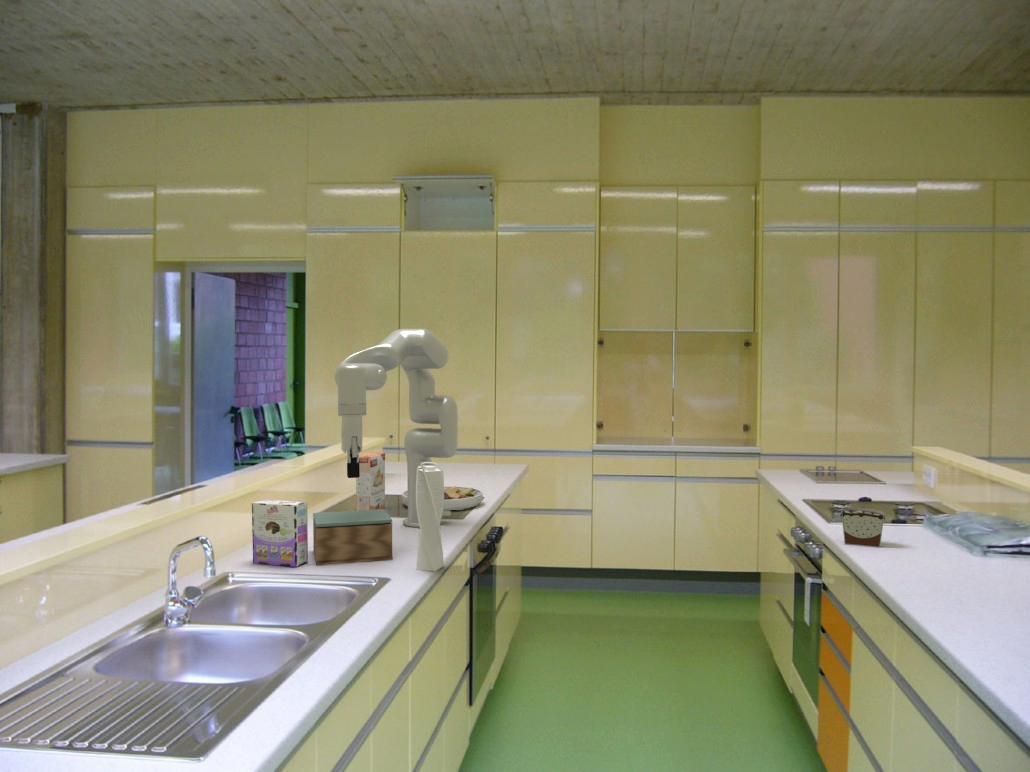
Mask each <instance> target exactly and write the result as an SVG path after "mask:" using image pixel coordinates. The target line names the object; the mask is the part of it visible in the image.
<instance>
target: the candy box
mask: <svg viewBox="0 0 1030 772" xmlns="http://www.w3.org/2000/svg"><path fill="white" fill-rule="evenodd" d="M251 522H252V523H251V524H252V526H251V529H252V531H251V533H252V536H251V537H252V563H253V564H255V563H256V565H257V564H258V565H268V566H278V567H279V566H280V567H291V568H295V567H296V568H297V567H299V566H301V565H304V564H307V563H308V562H309V547H308V546H309V545H308V543H309V542H308V539H309V535H308V529H309V528H308V527H309V526H308V502H307V501H296V500H281V499H280V500H279V499H262V500H258V501H253V502H251Z"/></svg>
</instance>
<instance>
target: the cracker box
mask: <svg viewBox="0 0 1030 772" xmlns="http://www.w3.org/2000/svg"><path fill="white" fill-rule="evenodd" d="M359 468H360V477H359V478H355V511H358V510H376V509H385V510H386V508H385V507H386V503H385V502H386V499H385V497H386V452H381V451H380V452H378V451H377V452H374V451H371V452H368V453H365V454H361V455H360V454H359Z"/></svg>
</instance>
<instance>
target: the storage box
mask: <svg viewBox="0 0 1030 772" xmlns="http://www.w3.org/2000/svg"><path fill="white" fill-rule="evenodd" d="M312 520H313V521H312V522H313V523H312V524H313V525H312V526H313V527H312V529H313V534H312V535H313V537H312V539H313V543H312V544H313V545H312V546H313V554H314V560H315V565H316V566H320V565H332V564H333V565H334V564H346V563H348V564H349V563H361V562H373V561H387V560H388V561H389V560H393V522H392V523H379V524H362V525H345V526H329V527H316V526H315V521H314V517H313V516H312Z"/></svg>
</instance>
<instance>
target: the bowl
mask: <svg viewBox="0 0 1030 772" xmlns="http://www.w3.org/2000/svg"><path fill="white" fill-rule="evenodd" d="M483 496H484V495H483V491H481V490H480V489H478V488H473V487H465V486H444V504H443V510H454V509H463V508H469V507H473V508H475V507H477V506H478V505H480V503H481V502H482V500H483ZM401 500H402V502H403V504H404V505H405V506H408V489H407V490H405V491H402V493H401ZM474 506H475V507H474Z"/></svg>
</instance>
